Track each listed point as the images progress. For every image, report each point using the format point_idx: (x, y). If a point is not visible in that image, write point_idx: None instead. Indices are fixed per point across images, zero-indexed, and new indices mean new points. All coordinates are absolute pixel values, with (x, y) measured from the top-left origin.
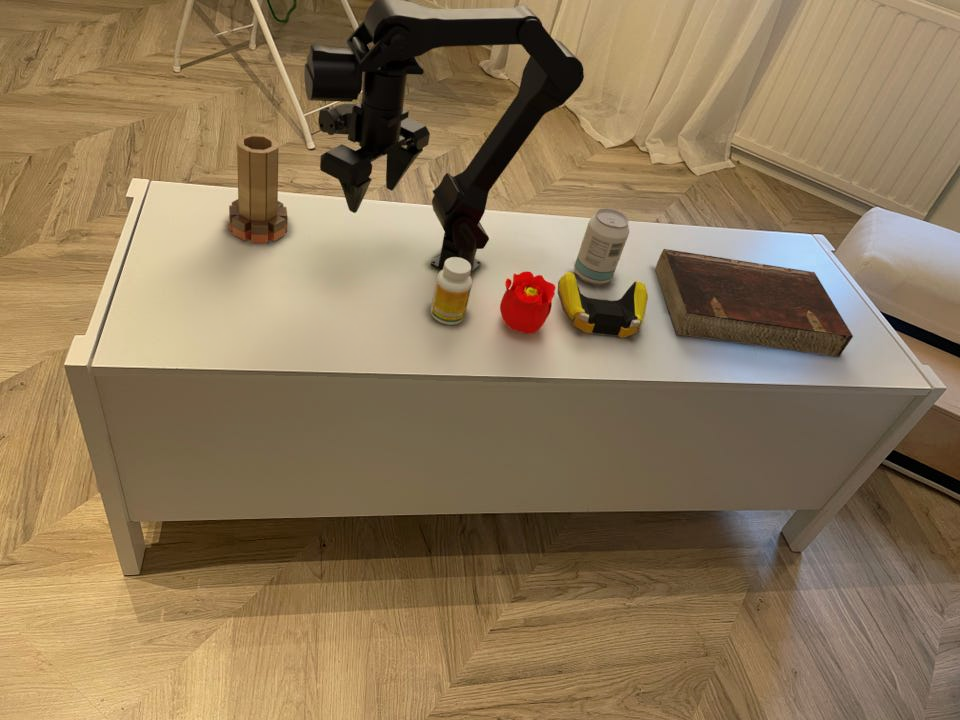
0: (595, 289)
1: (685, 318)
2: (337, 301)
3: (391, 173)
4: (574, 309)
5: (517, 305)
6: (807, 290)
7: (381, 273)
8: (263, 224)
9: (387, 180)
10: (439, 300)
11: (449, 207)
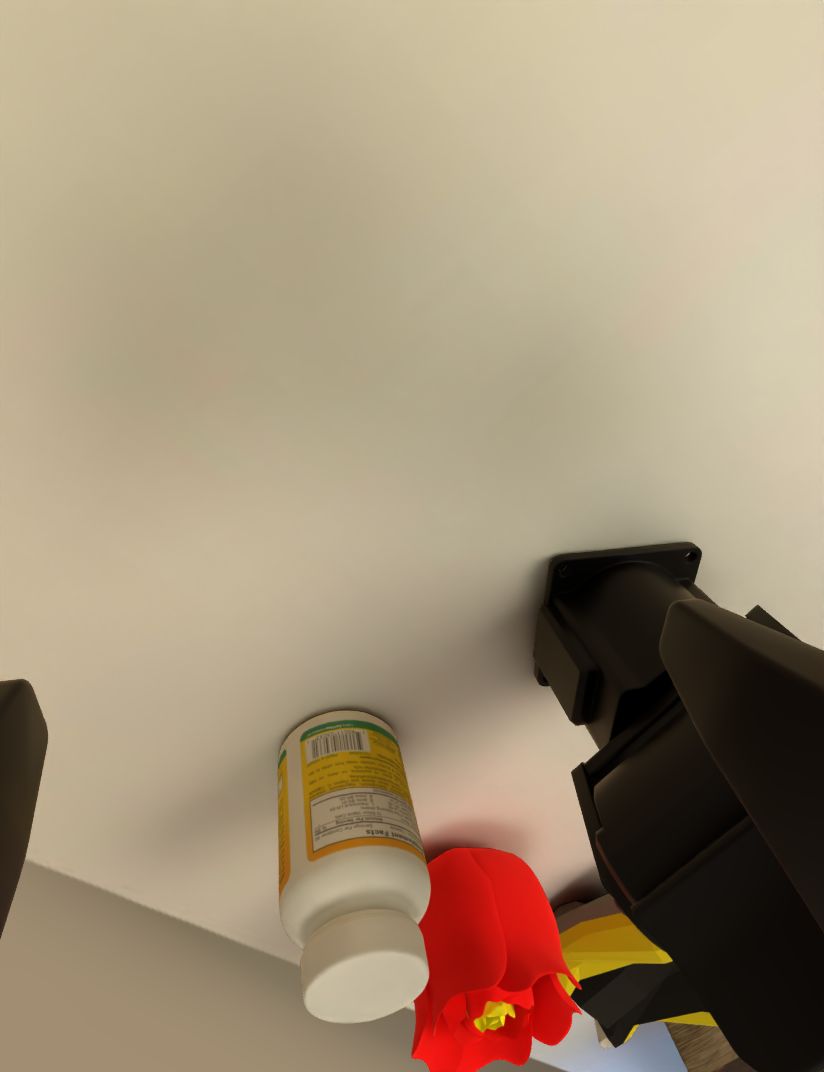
0: None
1: (683, 1061)
2: (18, 470)
3: (800, 761)
4: (568, 966)
5: (415, 1006)
6: None
7: (358, 464)
8: None
9: (726, 658)
10: (279, 834)
11: (682, 948)
